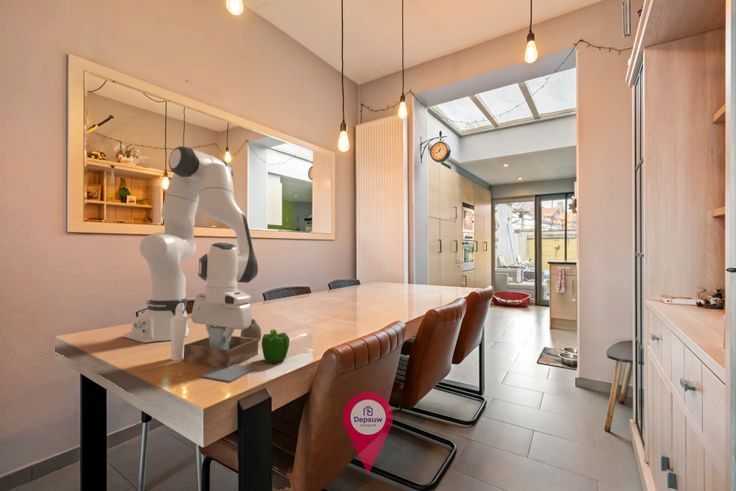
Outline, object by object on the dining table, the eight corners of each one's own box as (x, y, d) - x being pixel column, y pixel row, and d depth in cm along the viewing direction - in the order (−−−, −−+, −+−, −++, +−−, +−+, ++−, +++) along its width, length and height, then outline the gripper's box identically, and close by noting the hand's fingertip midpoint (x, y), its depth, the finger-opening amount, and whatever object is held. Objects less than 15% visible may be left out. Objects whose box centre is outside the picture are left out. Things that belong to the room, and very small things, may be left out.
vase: (264, 342, 118) (264, 318, 118) (255, 348, 111) (256, 322, 111) (246, 341, 119) (246, 317, 119) (236, 347, 112) (237, 321, 112)
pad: (199, 376, 86) (199, 375, 86) (226, 364, 95) (226, 363, 95) (230, 382, 83) (230, 380, 83) (255, 368, 92) (255, 367, 92)
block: (208, 350, 99) (210, 327, 99) (218, 347, 103) (219, 325, 103) (219, 352, 97) (220, 329, 98) (229, 349, 101) (230, 326, 101)
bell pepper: (276, 354, 105) (277, 323, 105) (294, 359, 101) (295, 327, 101) (254, 361, 98) (255, 328, 98) (272, 367, 94) (273, 332, 94)
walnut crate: (183, 361, 96) (184, 344, 96) (217, 348, 109) (217, 333, 109) (227, 369, 92) (228, 351, 92) (257, 354, 104) (258, 338, 105)
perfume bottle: (189, 357, 100) (191, 309, 100) (174, 361, 96) (176, 311, 96) (181, 354, 102) (183, 307, 103) (166, 358, 99) (168, 309, 99)
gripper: (187, 293, 101) (185, 338, 100) (241, 299, 94) (239, 347, 94) (203, 291, 107) (201, 333, 106) (255, 297, 100) (253, 342, 100)
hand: (219, 340), depth 100 cm, fingers closed on block, 4 cm apart
